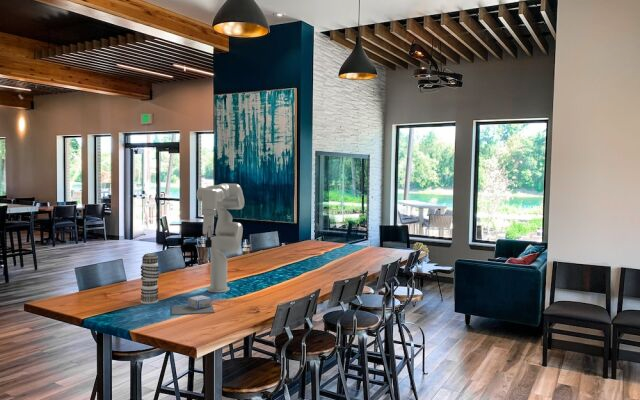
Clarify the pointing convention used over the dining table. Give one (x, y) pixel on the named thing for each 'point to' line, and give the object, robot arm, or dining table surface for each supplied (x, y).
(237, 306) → the dining table surface
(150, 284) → the decorative candle
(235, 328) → the dining table surface
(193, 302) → the medicine box
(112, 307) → the dining table surface
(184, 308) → the charcoal mat
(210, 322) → the dining table surface
